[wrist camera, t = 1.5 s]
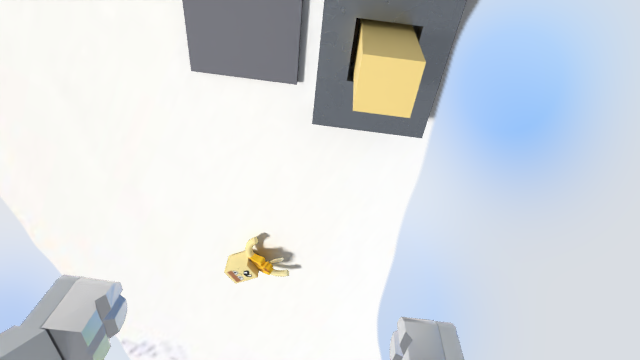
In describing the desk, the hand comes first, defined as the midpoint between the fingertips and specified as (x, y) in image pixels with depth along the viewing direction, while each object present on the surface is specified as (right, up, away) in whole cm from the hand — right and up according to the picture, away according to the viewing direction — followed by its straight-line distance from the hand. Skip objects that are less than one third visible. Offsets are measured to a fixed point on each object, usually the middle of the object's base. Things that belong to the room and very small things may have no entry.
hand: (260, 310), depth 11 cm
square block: (+7, +16, +21) cm, 28 cm away
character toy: (-6, -7, +42) cm, 43 cm away
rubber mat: (-5, +18, +21) cm, 28 cm away
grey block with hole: (+7, +16, +21) cm, 28 cm away
